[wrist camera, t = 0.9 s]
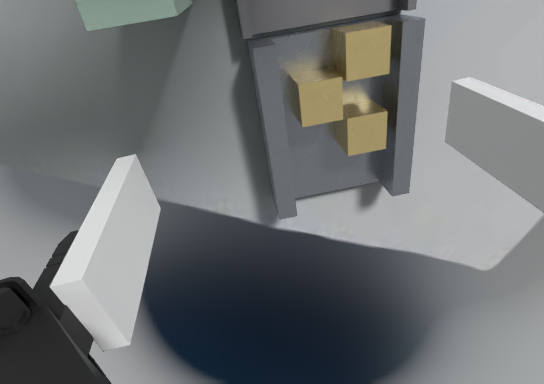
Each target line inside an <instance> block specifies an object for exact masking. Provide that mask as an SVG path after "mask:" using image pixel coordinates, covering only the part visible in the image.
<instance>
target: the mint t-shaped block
mask: <svg viewBox="0 0 544 384" xmlns="http://www.w3.org/2000/svg"><path fill="white" fill-rule="evenodd" d="M75 2H76V5H77V7H78V10H79V12H80V15H81V17H82V20H83V23H84V25H85V28H86V30H87V31H92V30H98V29H104V28H109V27H115V26H121V25H127V24H133V23H139V22H145V21H151V20H157V19H162V18H168V17H174V16H178V15H179V14H180V13H182V12H183V11H184V10H185V9H186V8H188V7H189V6H190V5H191V4H193V1H192V0H75Z"/></svg>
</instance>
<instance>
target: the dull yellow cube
mask: <svg viewBox="0 0 544 384" xmlns="http://www.w3.org/2000/svg"><path fill="white" fill-rule="evenodd" d="M391 27H392V25H389V24H384V23H379V22H374V21H370V22H365V23H359V24H353V25H348V26H342V27H336V28H331V34H332V58H333V71H334V72H336V73H337V74H339V75H340V76H342V79H343V80H345V81H346V82H348V81H353V80H358V79H364V78H369V77H375V76H380V75H385V74H389V71H390V49H391Z"/></svg>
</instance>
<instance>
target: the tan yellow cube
mask: <svg viewBox="0 0 544 384" xmlns="http://www.w3.org/2000/svg"><path fill="white" fill-rule="evenodd" d="M387 114H388V111H387V110H385V109H384V108H383V107H381V106H380V105H378V104H377V103H376V102H374V101H373V100H371V99H370V100H365V101H360V102H354V103H349V104H344V105H343V120H338V121H335V131H336V142H337V143H338V144H339V145H340V147H341V148H342V149H343V150H344V152H345V153H346V154H347V155H348V156H352V155H357V154H362V153H367V152H372V151H377V150H382V149H386V136H387Z"/></svg>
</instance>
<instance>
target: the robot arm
mask: <svg viewBox="0 0 544 384" xmlns="http://www.w3.org/2000/svg"><path fill="white" fill-rule="evenodd" d="M445 142H446V143H447V144H449V145H450V146H451V147H453V148H454V149H455V150H457V151H458V152H460V153H461V154H462V155H464V156H465V157H467V158H468V159H469V160H471V161H472V162H474V163H475V164H476V165H478V166H479V167H481V168H482V169H483V170H485V171H486V172H488V173H489V174H490V175H492V176H493V177H494V178H496V179H497V180H499V181H500V182H501V183H503V184H504V185H506V186H507V187H508V188H510V189H511V190H513V191H514V192H515V193H517V194H518V195H520V196H521V197H522V198H524V199H525V200H526V201H528V202H529V203H531V204H532V205H533V206H535V207H536V208H538V209H539V210H540V211H542V212H543V213H544V106H542V105H539V104H537V103H534V102H532V101H529V100H527V99H524V98H522V97H519V96H516V95H514V94H511V93H509V92H506V91H504V90H501V89H499V88H496V87H494V86H491V85H489V84H486V83H484V82H481V81H479V80H476V79H474V78H471V77H468V78H464V79H459V80H455V81H452V85H451V93H450V102H449V110H448V119H447V127H446V136H445ZM160 209H161V208H160V206H159V204H158V202H157V199H156V197H155V195H154V193H153V191H152V188H151V186H150V184H149V182H148V180H147V178H146V175H145V173H144V171H143V169H142V167H141V165H140V162H139V160H138V158H137V156H136V154H134V155H130V156H126V157H121V158H117V159H116V161H115V163H114V165H113V167H112V169H111V171H110V172H109V174H108V176H107V178H106V180H105V182H104V184H103V186H102V188H101V190H100V192H99V194H98V195H97V197H96V199H95V201H94V203H93V205H92V207H91V209H90V211H89V213H88V215H87V217H86V218H85V220H84V222H83V224H82V226H81V228H80V230H77V231H73V232H70V234H69V235H67V236H66V237H65V238H64V239H63V240H62V241H61V242H60V243H59V244H58V246H57V248H56V250H55V251H54V253H53V255H52V258H51V259H50V260H49V262H48V264H47V265H46V267H47V268H45V269H44V270H43V272H42V274H41V276H40V278H39V279H38V281H37V283H36V284H35V286H34V288H33V290H32V288H31V287H30V286H29V285H28V284H27V283H26V282H25V280H23V279H21V278H20V277H9V278H6V279H2V280H0V384H111V382H110V381H109V379H108V378H107V377H106V375H105V374H104V373H103V371H102V370H101V369H100V367H99V366H98V364H97V363H96V362H95V360H94V359H93V358H92V357H91V356H90V354H89V352H90V348H91V345H92V342H93V340H94V341H95V342H96V344H97V345H98V346H99V347H100V348H101V349H102V351H103V352H104V351H108V350H112V349H116V348H120V347H124V346H128V345H130V343H131V339H132V334H133V330H134V325H135V321H136V317H137V312H138V308H139V303H140V298H141V294H142V290H143V285H144V281H145V276H146V272H147V267H148V262H149V258H150V254H151V250H152V245H153V241H154V236H155V232H156V227H157V223H158V217H159V214H160Z"/></svg>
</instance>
